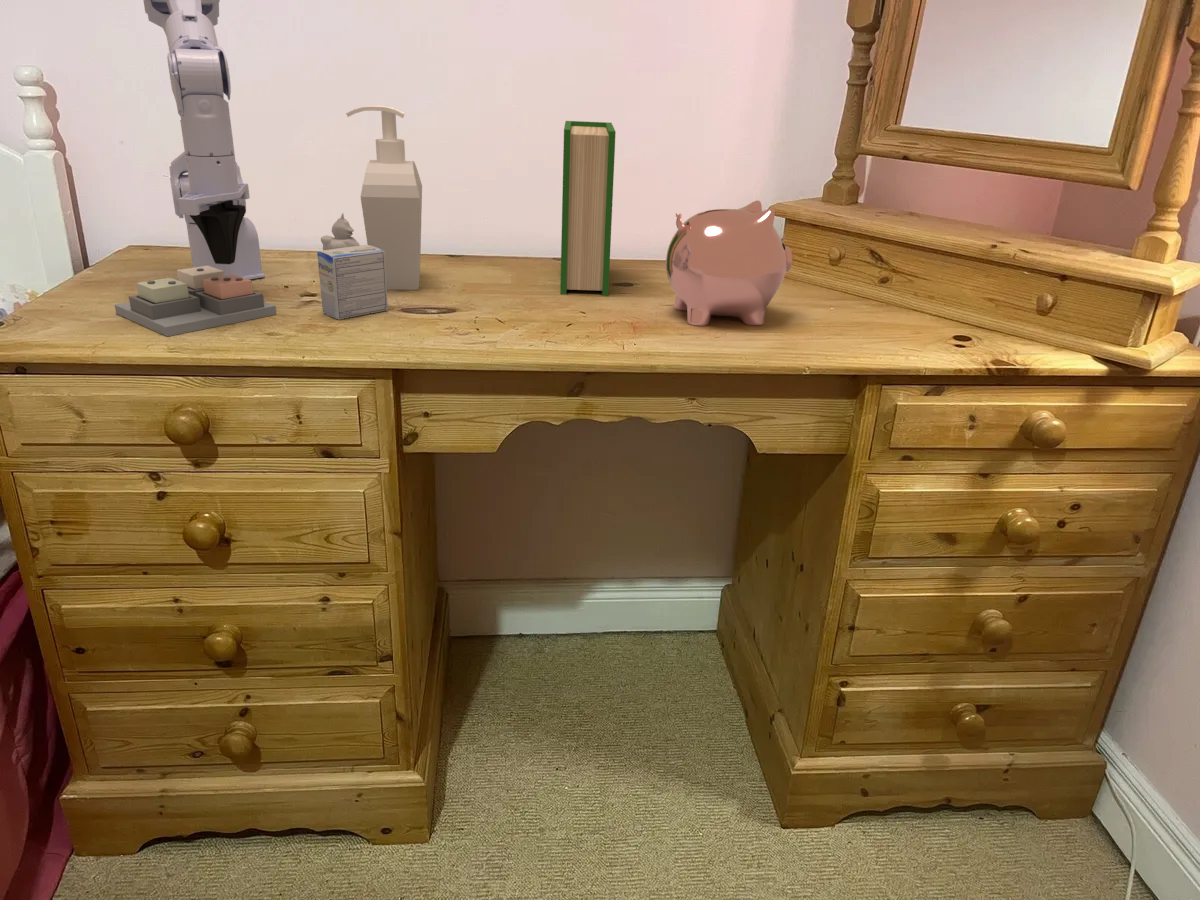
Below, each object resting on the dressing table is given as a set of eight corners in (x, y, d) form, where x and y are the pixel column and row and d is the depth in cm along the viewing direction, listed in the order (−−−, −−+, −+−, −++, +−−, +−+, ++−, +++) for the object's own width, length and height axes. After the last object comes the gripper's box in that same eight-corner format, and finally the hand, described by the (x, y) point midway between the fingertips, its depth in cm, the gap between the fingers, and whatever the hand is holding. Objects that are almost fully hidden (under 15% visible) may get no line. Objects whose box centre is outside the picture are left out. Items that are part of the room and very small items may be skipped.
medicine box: (372, 304, 126) (368, 243, 123) (389, 311, 123) (385, 249, 120) (321, 313, 121) (315, 250, 117) (338, 321, 118) (332, 256, 115)
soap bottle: (362, 273, 143) (350, 102, 132) (425, 274, 144) (418, 105, 133) (355, 293, 131) (341, 107, 121) (423, 293, 133) (416, 110, 122)
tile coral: (235, 287, 120) (233, 272, 119) (253, 293, 117) (251, 278, 117) (204, 292, 117) (202, 277, 116) (221, 299, 114) (219, 284, 113)
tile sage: (172, 291, 117) (170, 276, 116) (188, 297, 114) (186, 282, 114) (138, 296, 114) (136, 281, 113) (155, 303, 111) (152, 287, 111)
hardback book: (608, 296, 136) (615, 131, 126) (560, 294, 136) (563, 129, 126) (605, 270, 152) (611, 122, 142) (562, 268, 152) (565, 120, 142)
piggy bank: (801, 330, 123) (817, 213, 117) (676, 331, 120) (685, 211, 114) (764, 301, 137) (777, 196, 130) (652, 302, 134) (659, 194, 127)
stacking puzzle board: (222, 294, 128) (220, 274, 126) (276, 314, 120) (274, 292, 118) (116, 313, 117) (111, 291, 116) (167, 336, 109) (163, 312, 108)
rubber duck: (354, 263, 149) (351, 215, 146) (316, 261, 149) (312, 213, 146) (365, 257, 154) (362, 210, 151) (328, 255, 154) (324, 208, 151)
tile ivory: (209, 278, 124) (207, 264, 123) (225, 284, 121) (223, 269, 121) (178, 283, 121) (176, 268, 120) (194, 289, 118) (192, 274, 117)
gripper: (207, 147, 117) (221, 250, 122) (147, 158, 103) (165, 273, 109) (259, 150, 116) (270, 253, 122) (205, 161, 103) (221, 276, 109)
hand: (224, 263), depth 115 cm, fingers closed
